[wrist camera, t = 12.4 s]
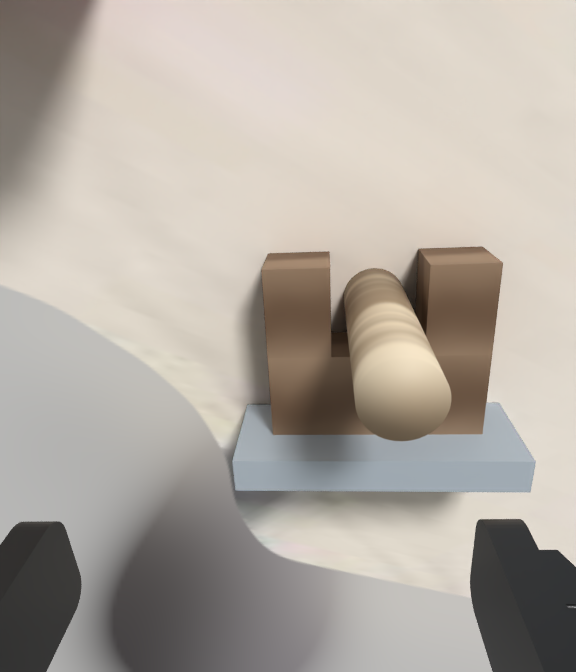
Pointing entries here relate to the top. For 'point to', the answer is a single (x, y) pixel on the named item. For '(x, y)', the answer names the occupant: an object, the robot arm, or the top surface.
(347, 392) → the block
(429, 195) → the top surface
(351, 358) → the dowel
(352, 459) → the wall
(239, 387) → the top surface
